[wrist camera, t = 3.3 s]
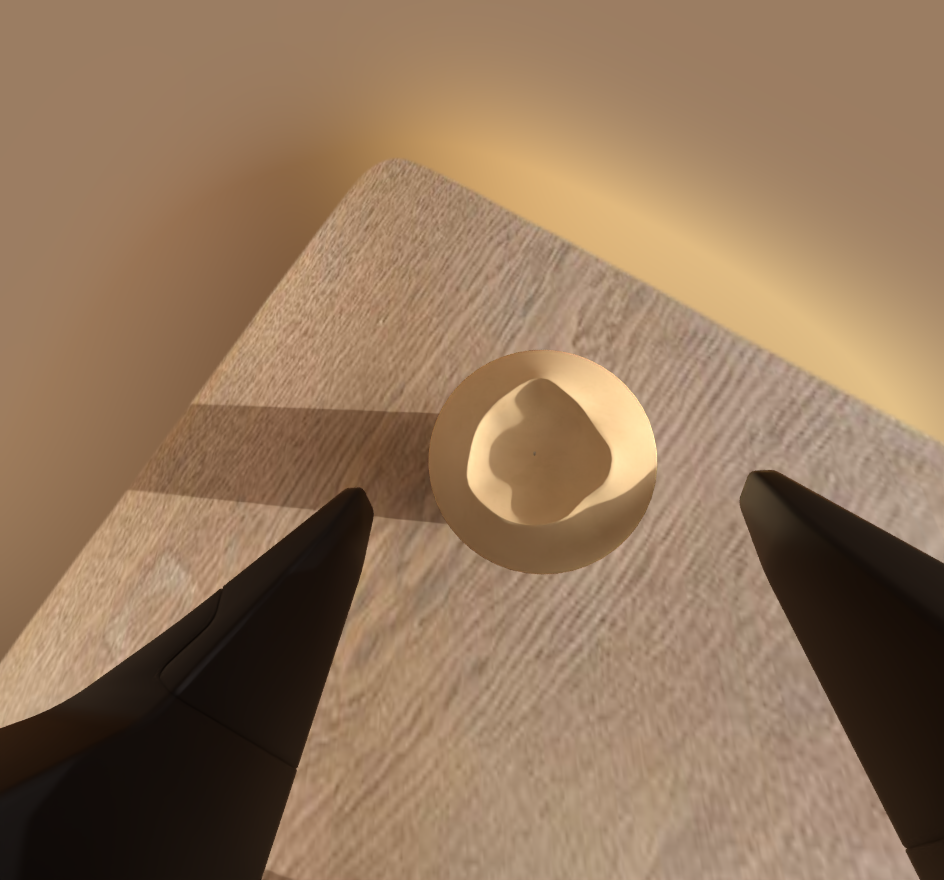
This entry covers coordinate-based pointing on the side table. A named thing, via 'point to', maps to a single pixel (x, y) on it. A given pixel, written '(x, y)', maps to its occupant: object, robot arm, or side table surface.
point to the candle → (542, 462)
